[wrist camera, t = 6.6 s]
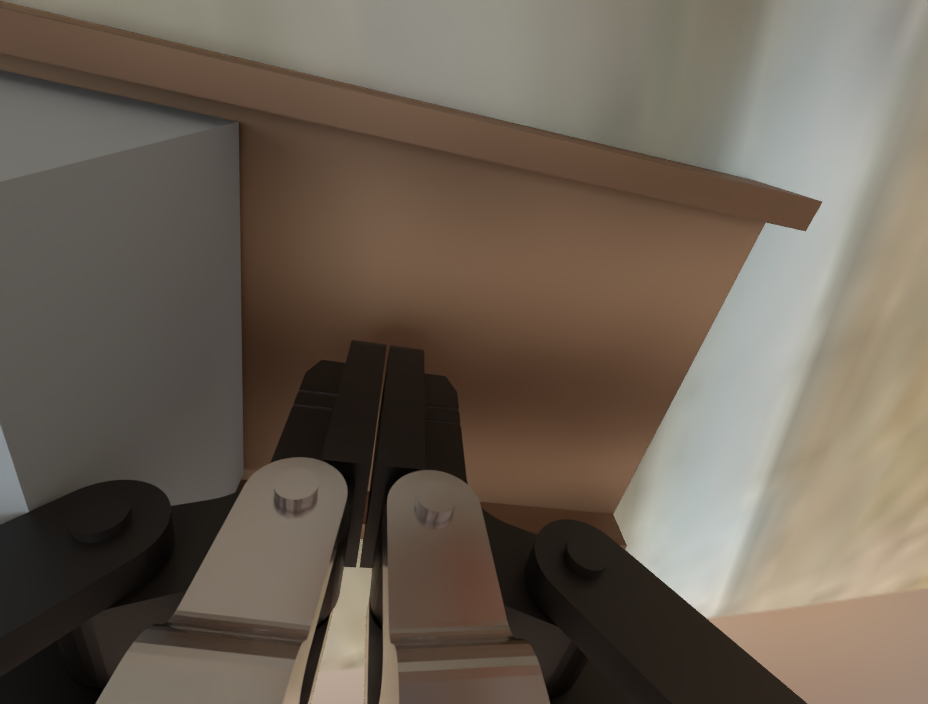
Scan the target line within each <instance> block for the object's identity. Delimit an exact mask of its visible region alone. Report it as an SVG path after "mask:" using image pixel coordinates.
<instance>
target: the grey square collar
mask: <svg viewBox="0 0 928 704" xmlns="http://www.w3.org/2000/svg"><path fill="white" fill-rule="evenodd" d="M243 474H244V461H243V390H242V319H241V248H240V178H239V122H237V121H233V120H228V119H224V118H219V117H214V116H210V115H205V114H200V113H196V112H191V111H187V110H182V109H177V108H173V107H168V106H163V105H159V104H154V103H150V102H145V101H140V100H136V99H131V98H126V97H122V96H117V95H113V94H108V93H103V92H99V91H94V90H89V89H85V88H80V87H76V86H71V85H66V84H62V83H57V82H52V81H48V80H43V79H39V78H34V77H29V76H25V75H20V74H15V73H11V72H6V71H2V70H0V525H1V524H3V523H5V522H7V521H10V520H12V519H14V518H16V517H18V516H21V515H23V514H25V513H27V512H30V511H32V510H34V509H36V508H38V507H40V506H43V505H45V504H47V503H49V502H51V501H54V500H56V499H58V498H60V497H62V496H65V495H67V494H69V493H71V492H73V491H76V490H78V489H81V488H83V487H86V486H89V485H93V484H96V483H101V482H106V481H112V480H137V481H143V482H146V483H150V484H152V485H154V486H156V487H158V488H159V489H161V490H162V491H163V492H164V493H165V494H166V495H167V497H168V499H169V501H170V504H171V506H173V505H179V504H186V503H192V502H198V501H204V500H211V499H215V498H220V497H224V496H227V495H230V494H233V493H235V492H236V489H237V487H238V485H239V483H240V481H241V478H242V476H243Z"/></svg>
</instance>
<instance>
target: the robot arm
mask: <svg viewBox="0 0 928 704" xmlns="http://www.w3.org/2000/svg"><path fill="white" fill-rule="evenodd" d="M386 348H387V345H386V344H379V343H372V342H365V341H358V340H352V341H351V344H350V348H349V352H348V356H347V360H346V363H343V362H336V361H328V360H321V361H320V362H318V363H317V364H316V365H314V366H313V367H312V368H311V369H309V370H308V371H307V372H306V373H305V375H304V378H303V380H302V383H301V386H300V388H299V392H298V393H297V396H296V398H295V401H294V405H293V407H292V409H291V411H290V414H289V416H288V419H287V421H286V424H285V427H284V429H283V432H282V434H281V437H280V439H279V442H278V444H277V447H276V450H275V452H274V455H273V457H272V460H271V462H270V464H267V465H266V466H264V467H262V468H260V469H259V470H258V471H256V472H255V473H254V474H253V475H252V476H251V477H250V478H249V479H248V481H247V482H246V484H245V485H244V487H243V489H242V490H240V491H237V492H235V493H233V494H230V495H227V496H224V497H220V498H215V499H211V500H204V501H198V502H192V503H186V504H179V505H173V506H171V504H170V501H169V499H168V497H167V495H166V494H165V493H164V492H163V491H162V490H161V489H159V488H158V487H156V486H154V485H152V484H150V483H146V482H143V481H137V480H112V481H106V482H101V483H96V484H93V485H89V486H86V487H83V488H81V489H78V490H76V491H73V492H71V493H69V494H67V495H65V496H62V497H60V498H58V499H56V500H54V501H51V502H49V503H47V504H45V505H43V506H40V507H38V508H36V509H34V510H32V511H30V512H27V513H25V514H23V515H21V516H18V517H16V518H14V519H12V520H10V521H7V522H5V523H3V524H1V525H0V704H311V700H312V696H313V692H314V688H315V684H316V680H317V676H318V672H319V668H320V664H321V660H322V656H323V652H324V648H325V643H326V639H327V635H328V631H329V627H330V623H331V619H332V614H333V609H334V607H335V605H336V603H337V601H338V597H339V594H340V588H341V581H342V575H343V569H344V567H356V563H357V556H358V550H359V543H360V537H361V530H362V523H363V517H364V510H365V504H366V497H367V491H368V484H369V477H370V471H371V464H372V457H373V449H374V441H375V433H376V426H377V418H378V410H379V402H380V395H381V387H382V379H383V371H384V363H385V356H386ZM360 567H363V568H373V569H372V579H371V589H370V596H369V602H368V607H367V613H366V638H365V677H364V678H365V679H364V704H807V703H806V702H805V701H804V700H802V699H801V698H800V697H799V696H798V695H796V694H795V693H794V692H793V691H792V690H790V689H789V688H788V687H787V686H786V685H785V684H783V683H782V682H781V681H780V680H779V679H777V678H776V677H775V676H774V675H773V674H771V673H770V672H769V671H768V670H767V669H766V668H764V667H763V666H762V665H761V664H760V663H758V662H757V661H756V660H755V659H754V658H753V657H751V656H750V655H749V654H748V653H746V652H745V651H744V650H743V649H742V648H741V647H739V646H738V645H737V644H736V643H735V642H734V641H732V640H731V639H730V638H729V637H727V636H726V635H725V634H724V633H723V632H722V631H721V630H719V629H718V628H717V627H716V626H714V625H713V624H712V623H711V622H710V621H709V620H707V619H706V618H705V617H704V616H703V615H702V614H700V613H699V612H698V611H697V610H696V609H694V608H693V607H692V606H691V605H690V604H688V603H687V602H686V601H685V600H684V599H683V598H681V597H680V596H679V595H678V594H677V593H675V592H674V591H673V590H672V589H671V588H669V587H668V586H667V585H666V584H665V583H664V582H662V581H661V580H660V579H659V578H658V577H656V576H655V575H654V574H653V573H652V572H651V571H649V570H648V569H647V568H646V567H645V566H643V565H642V564H641V563H640V562H639V561H637V560H636V559H635V558H634V557H633V556H632V555H630V554H629V553H628V552H627V551H626V550H624V549H623V548H622V547H621V546H620V545H618V544H617V543H616V542H615V541H614V540H613V539H611V538H610V537H609V536H608V535H606V534H605V533H604V532H602V531H601V530H599V529H597V528H596V527H594V526H591V525H589V524H587V523H584V522H581V521H577V520H569V519H562V520H556V521H553V522H550V523H548V524H547V525H545V526H544V527H543V528H542V529H541V530H540V532H539V533H538V535H537V534H534V533H532V532H529V531H526V530H523V529H521V528H518V527H515V526H513V525H510V524H507V523H505V522H503V521H501V520H499V519H497V518H495V517H494V516H492V515H491V514H489V513H488V512H487V511H485V510H484V509H483V508H482V507H481V504H480V501H479V499H478V497H477V495H476V494H475V492H474V491H473V490H472V488H471V487H470V486H468V483H467V476H466V467H465V458H464V449H463V441H462V432H461V426H460V414H459V405H458V396H457V391H456V390H455V388H454V387H453V385H452V384H451V383H450V381H449V380H448V379H447V377H446V376H441V375H433V374H426V373H425V370H424V350H422V349H415V348H408V347H401V346H394V345H390V347H389V353H388V360H387V367H386V373H385V380H384V386H383V393H382V399H381V406H380V413H379V420H378V427H377V435H376V443H375V451H374V458H373V466H372V474H371V482H370V490H369V498H368V506H367V514H366V522H365V530H364V538H363V546H362V554H361V562H360Z"/></svg>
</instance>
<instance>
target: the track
mask: <svg viewBox="0 0 928 704" xmlns="http://www.w3.org/2000/svg"><path fill="white" fill-rule="evenodd" d="M0 70H2V71H6V72H11V73H15V74H20V75H25V76H29V77H34V78H39V79H43V80H48V81H52V82H57V83H62V84H66V85H71V86H76V87H80V88H85V89H89V90H94V91H99V92H103V93H108V94H113V95H117V96H122V97H126V98H131V99H136V100H140V101H145V102H150V103H154V104H159V105H163V106H168V107H173V108H177V109H182V110H187V111H191V112H196V113H200V114H205V115H210V116H214V117H219V118H224V119H228V120H233V121H237V122H239V178H240V248H241V319H242V390H243V461H244V474H243V476H242V478H241V481H240V483H239V485H238V487H237V489H236V492H237V491H240V490H242V489H243V487H244V485H245V484H246V482H247V481H248V479H249V478H250V477H251V476H252V475H253V474H254V473H255V472H256V471H258V470H259V469H260V468H262V467H264V466H266V465H267V464H270V462H271V460H272V457H273V455H274V452H275V450H276V447H277V444H278V442H279V439H280V437H281V434H282V432H283V429H284V427H285V424H286V421H287V419H288V416H289V414H290V411H291V409H292V407H293V405H294V401H295V398H296V396H297V393H298V392H299V388H300V386H301V383H302V380H303V378H304V375H305V373H306V372H307V371H308V370H309V369H311V368H312V367H313V366H314V365H316V364H317V363H318V362H320V361H321V360H328V361H336V362H343V363H346V360H347V356H348V352H349V348H350V344H351V341H352V340H358V341H365V342H372V343H379V344H386V345H387V348H386V356H385V363H384V371H383V379H382V387H381V395H380V402H379V410H378V418H377V426H376V433H375V441H374V449H373V457H372V464H371V471H370V477H369V484H368V491H367V497H366V504H365V510H364V517H363V523H362V530H361V537H360V539H363V538H364V530H365V522H366V514H367V506H368V498H369V490H370V482H371V474H372V466H373V458H374V451H375V443H376V435H377V427H378V420H379V413H380V406H381V399H382V393H383V386H384V380H385V373H386V367H387V360H388V353H389V347H390V345H394V346H401V347H408V348H415V349H422V350H424V370H425V373H426V374H433V375H441V376H446V377H447V379H448V380H449V381H450V383H451V384H452V385H453V387H454V388H455V390H456V391H457V396H458V405H459V414H460V426H461V432H462V441H463V449H464V458H465V467H466V476H467V483H468V486H470V487H471V488H472V490H473V491H474V492H475V494H476V495H477V497H478V499H479V501H480V504H481V507H482V508H483V509H484V510H485V511H487V512H488V513H489V514H491V515H492V516H494V517H495V518H497V519H499V520H501V521H503V522H505V523H507V524H510V525H513V526H515V527H518V528H521V529H523V530H526V531H529V532H532V533H534V534H537V535H538V533H539V532H540V530H541V529H542V528H543V527H544V526H545V525H547V524H548V523H550V522H553V521H556V520H562V519H569V520H577V521H581V522H584V523H587V524H589V525H591V526H594V527H596V528H597V529H599V530H601V531H602V532H604V533H605V534H606V535H608V536H609V537H610V538H611V539H613V540H614V541H615V542H616V543H617V544H618V545H620V546H621V547H622V548H623V549H624V550H625V548H626V546H627V545H626V543H625V540H624V538H623V536H622V534H621V531H620V529H619V527H618V525H617V522H616V520H615V518H614V515H613V513H614V511H615V509H616V508H617V506H618V504H619V502H620V500H621V498H622V496H623V494H624V492H625V490H626V488H627V486H628V485H629V483H630V481H631V479H632V477H633V475H634V473H635V471H636V469H637V467H638V465H639V464H640V462H641V460H642V458H643V456H644V454H645V452H646V450H647V448H648V446H649V444H650V442H651V441H652V439H653V437H654V435H655V433H656V431H657V429H658V427H659V425H660V423H661V421H662V420H663V418H664V416H665V414H666V412H667V410H668V408H669V406H670V404H671V402H672V400H673V399H674V397H675V395H676V393H677V391H678V389H679V387H680V385H681V383H682V381H683V379H684V377H685V376H686V374H687V372H688V370H689V368H690V366H691V364H692V362H693V360H694V358H695V356H696V355H697V353H698V351H699V349H700V347H701V345H702V343H703V341H704V339H705V337H706V335H707V333H708V332H709V330H710V328H711V326H712V324H713V322H714V320H715V318H716V316H717V314H718V312H719V311H720V309H721V307H722V305H723V303H724V301H725V299H726V297H727V295H728V293H729V291H730V289H731V288H732V286H733V284H734V282H735V280H736V278H737V276H738V274H739V272H740V270H741V268H742V267H743V265H744V263H745V261H746V259H747V257H748V255H749V253H750V251H751V249H752V247H753V246H754V244H755V242H756V240H757V238H758V236H759V234H760V232H761V230H762V228H763V226H764V224H765V223H771V224H775V225H780V226H784V227H789V228H793V229H798V230H802V231H806V230H807V228H808V226H809V224H810V223H811V221H812V219H813V217H814V216H815V214H816V212H817V210H818V209H819V207H820V205H821V203H822V202H821V201H818V200H815V199H812V198H808V197H805V196H802V195H799V194H796V193H793V192H789V191H786V190H783V189H780V188H777V187H773V186H770V185H767V184H764V183H761V182H757V181H754V180H750V179H746V178H741V177H737V176H733V175H729V174H725V173H720V172H716V171H712V170H708V169H704V168H699V167H695V166H691V165H687V164H683V163H678V162H674V161H670V160H666V159H662V158H657V157H653V156H649V155H645V154H641V153H636V152H632V151H628V150H624V149H620V148H615V147H611V146H607V145H603V144H599V143H594V142H590V141H586V140H582V139H578V138H573V137H569V136H565V135H561V134H557V133H552V132H548V131H544V130H540V129H536V128H531V127H527V126H523V125H519V124H515V123H510V122H506V121H502V120H498V119H494V118H489V117H485V116H481V115H477V114H473V113H468V112H464V111H460V110H456V109H452V108H447V107H443V106H439V105H435V104H431V103H426V102H422V101H418V100H414V99H410V98H405V97H401V96H397V95H393V94H389V93H385V92H380V91H376V90H372V89H368V88H364V87H359V86H355V85H351V84H347V83H343V82H338V81H334V80H330V79H326V78H322V77H317V76H313V75H309V74H305V73H301V72H296V71H292V70H288V69H284V68H280V67H275V66H271V65H267V64H263V63H259V62H254V61H250V60H246V59H242V58H238V57H233V56H229V55H225V54H221V53H217V52H212V51H208V50H204V49H200V48H196V47H191V46H187V45H183V44H179V43H175V42H170V41H166V40H162V39H158V38H154V37H149V36H145V35H141V34H137V33H133V32H128V31H124V30H120V29H116V28H112V27H107V26H103V25H99V24H95V23H91V22H86V21H82V20H78V19H74V18H70V17H65V16H61V15H57V14H53V13H49V12H44V11H40V10H36V9H32V8H28V7H23V6H19V5H15V4H11V3H7V2H2V1H0Z"/></svg>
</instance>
